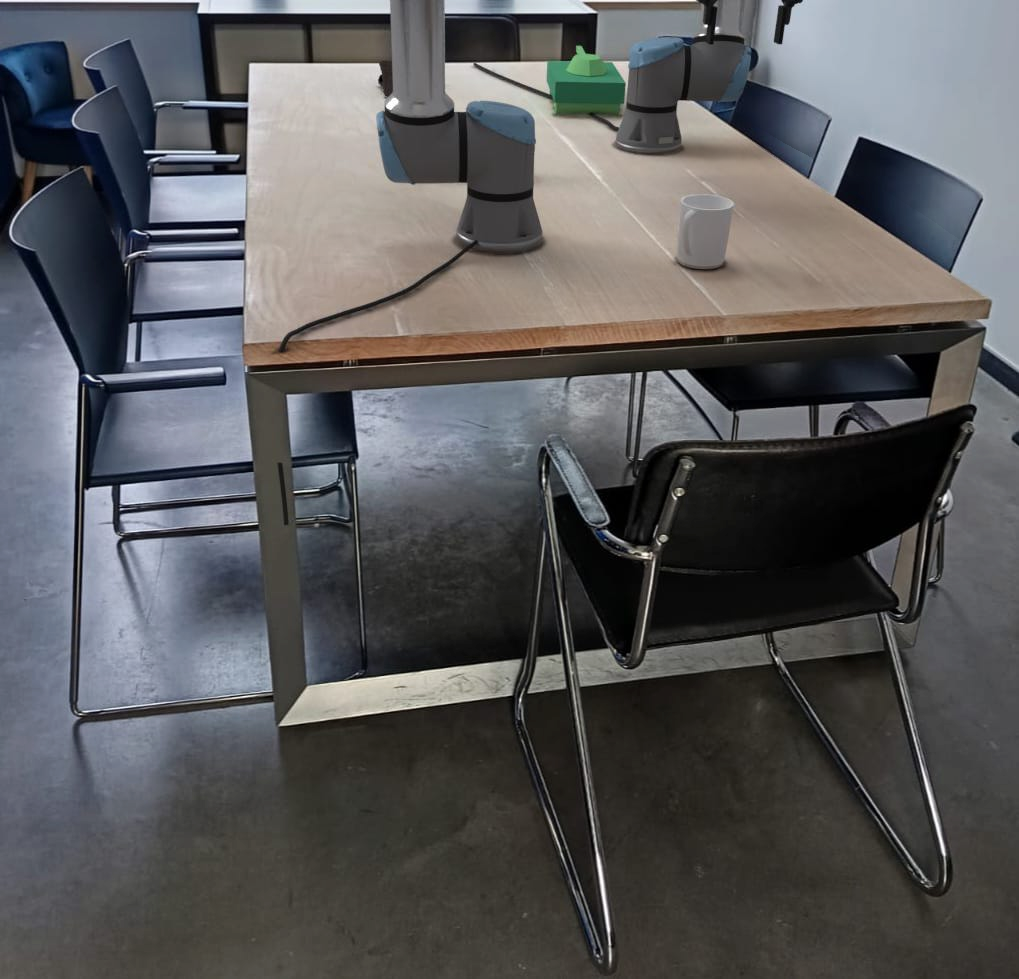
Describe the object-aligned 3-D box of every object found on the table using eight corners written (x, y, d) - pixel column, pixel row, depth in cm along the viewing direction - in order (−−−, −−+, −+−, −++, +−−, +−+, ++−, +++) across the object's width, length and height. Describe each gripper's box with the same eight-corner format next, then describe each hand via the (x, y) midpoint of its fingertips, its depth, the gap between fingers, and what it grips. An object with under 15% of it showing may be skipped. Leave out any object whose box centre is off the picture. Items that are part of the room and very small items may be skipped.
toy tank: (609, 42, 301) (627, 67, 272) (606, 88, 308) (623, 118, 278) (545, 41, 301) (556, 65, 271) (543, 87, 307) (553, 116, 277)
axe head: (443, 87, 294) (392, 77, 287) (436, 115, 299) (385, 106, 292) (421, 62, 307) (371, 52, 300) (414, 89, 311) (365, 80, 304)
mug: (691, 248, 193) (697, 191, 188) (736, 260, 189) (743, 201, 183) (657, 264, 186) (663, 205, 181) (703, 277, 181) (710, 216, 176)
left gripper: (430, -25, 199) (432, 97, 210) (437, -37, 221) (439, 74, 231) (389, -26, 199) (393, 96, 210) (400, -38, 221) (403, 73, 231)
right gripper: (817, -83, 203) (799, 39, 214) (686, -84, 199) (675, 40, 211) (832, -80, 196) (813, 46, 207) (698, -81, 193) (685, 47, 204)
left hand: (417, 85), depth 221 cm, fingers open, 13 cm apart
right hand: (743, 43), depth 209 cm, fingers open, 13 cm apart
